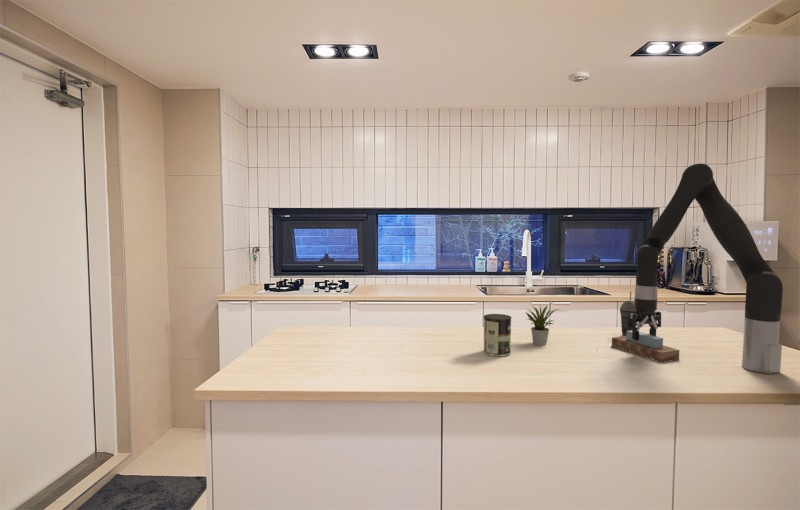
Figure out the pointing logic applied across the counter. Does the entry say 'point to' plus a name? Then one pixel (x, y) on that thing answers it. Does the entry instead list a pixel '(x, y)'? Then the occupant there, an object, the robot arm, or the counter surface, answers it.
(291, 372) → the counter surface
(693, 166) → the robot arm
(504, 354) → the coffee can
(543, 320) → the house plant
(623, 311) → the beverage cup
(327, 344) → the counter surface
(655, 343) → the grey bridge block
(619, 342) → the brown wooden slab
